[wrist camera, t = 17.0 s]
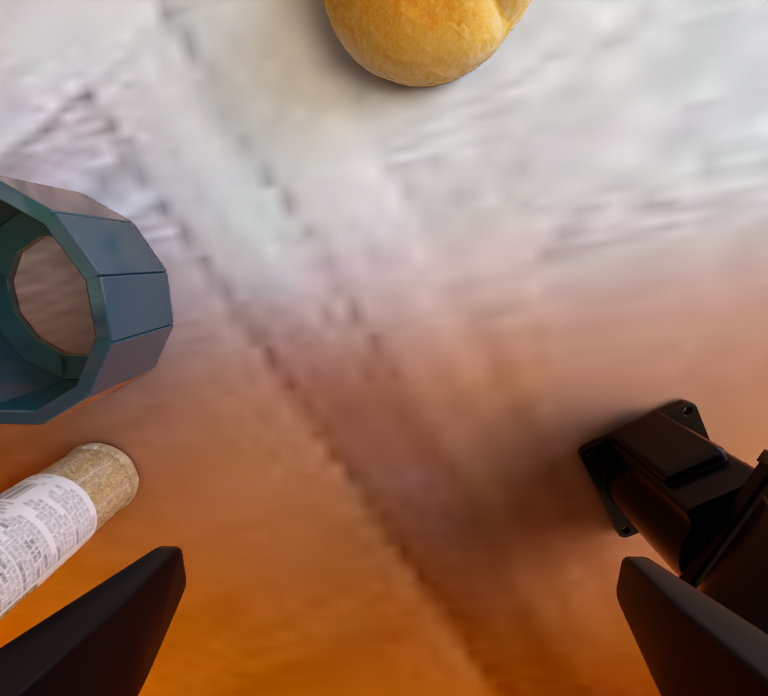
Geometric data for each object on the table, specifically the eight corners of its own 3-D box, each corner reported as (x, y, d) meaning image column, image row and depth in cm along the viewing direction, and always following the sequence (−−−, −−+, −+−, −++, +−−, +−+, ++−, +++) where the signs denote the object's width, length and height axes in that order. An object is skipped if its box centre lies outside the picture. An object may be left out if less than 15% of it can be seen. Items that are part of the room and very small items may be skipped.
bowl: (210, 334, 20) (158, 355, 15) (64, 420, 21) (-20, 462, 17) (84, 150, 18) (-16, 114, 13) (-67, 259, 19) (-203, 259, 15)
